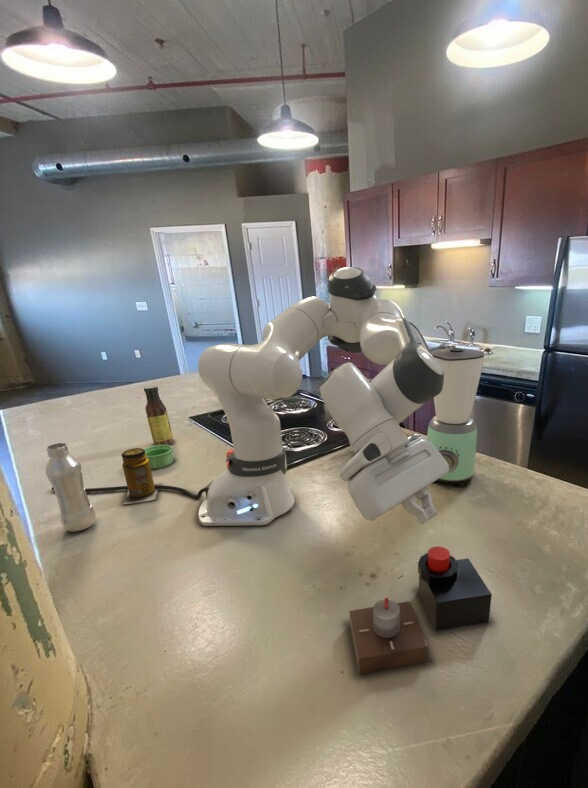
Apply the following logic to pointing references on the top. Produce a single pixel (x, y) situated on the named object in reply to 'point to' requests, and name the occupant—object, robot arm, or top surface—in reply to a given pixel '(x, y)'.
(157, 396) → the sauce bottle
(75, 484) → the plastic bottle
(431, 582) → the black button base
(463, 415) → the green blender
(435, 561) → the button
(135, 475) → the condiment
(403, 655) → the timer panel
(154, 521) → the top surface
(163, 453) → the ramekin
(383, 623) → the knob
